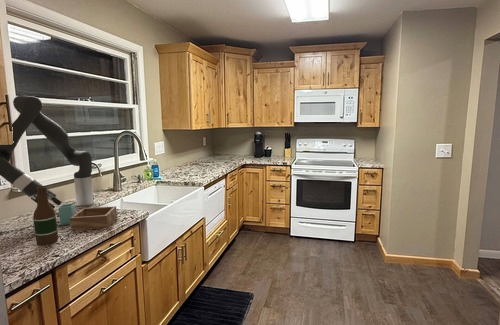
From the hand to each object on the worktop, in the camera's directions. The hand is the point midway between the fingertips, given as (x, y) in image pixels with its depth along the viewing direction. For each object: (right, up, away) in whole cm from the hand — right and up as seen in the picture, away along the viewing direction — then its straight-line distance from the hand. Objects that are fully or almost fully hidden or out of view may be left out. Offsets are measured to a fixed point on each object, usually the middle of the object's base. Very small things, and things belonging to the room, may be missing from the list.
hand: (57, 206), depth 144 cm
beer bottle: (+11, -12, -22) cm, 27 cm away
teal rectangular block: (+4, -9, +2) cm, 10 cm away
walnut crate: (+19, -9, +1) cm, 21 cm away
